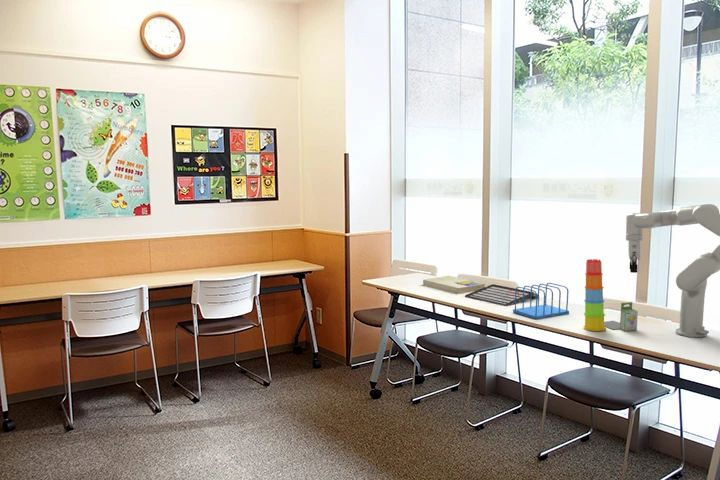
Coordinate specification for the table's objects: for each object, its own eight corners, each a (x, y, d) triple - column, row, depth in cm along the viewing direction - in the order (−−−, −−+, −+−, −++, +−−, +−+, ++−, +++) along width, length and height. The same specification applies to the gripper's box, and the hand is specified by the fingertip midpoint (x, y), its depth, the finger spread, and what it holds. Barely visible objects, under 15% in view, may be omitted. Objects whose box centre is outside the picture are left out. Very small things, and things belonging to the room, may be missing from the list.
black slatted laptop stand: (506, 315, 335) (539, 300, 353) (506, 304, 333) (539, 290, 351) (465, 303, 360) (497, 290, 378) (464, 292, 358) (497, 279, 376)
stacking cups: (592, 332, 278) (595, 262, 274) (578, 327, 288) (581, 259, 284) (610, 330, 281) (613, 260, 277) (596, 325, 291) (599, 257, 287)
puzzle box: (448, 281, 409) (422, 285, 397) (448, 275, 409) (422, 279, 396) (485, 290, 379) (458, 295, 366) (485, 283, 379) (458, 287, 366)
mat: (632, 327, 286) (632, 327, 286) (613, 330, 282) (613, 329, 282) (613, 321, 298) (613, 320, 298) (594, 323, 294) (594, 322, 294)
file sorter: (535, 320, 303) (536, 291, 301) (512, 312, 318) (513, 285, 316) (569, 314, 315) (570, 286, 313) (545, 307, 330) (546, 281, 328)
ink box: (625, 331, 279) (626, 304, 278) (619, 329, 283) (620, 302, 281) (637, 330, 281) (638, 303, 279) (631, 328, 285) (632, 301, 283)
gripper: (643, 239, 280) (642, 274, 282) (641, 235, 296) (640, 268, 298) (626, 239, 283) (625, 273, 285) (625, 235, 299) (624, 268, 301)
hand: (633, 270), depth 291 cm, fingers open, 9 cm apart
